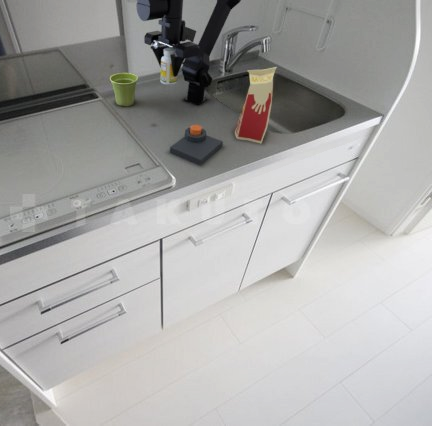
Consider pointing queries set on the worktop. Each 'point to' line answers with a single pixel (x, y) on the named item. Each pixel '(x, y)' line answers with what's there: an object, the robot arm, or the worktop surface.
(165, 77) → the supplement bottle
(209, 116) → the worktop surface
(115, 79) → the plant pot
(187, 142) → the scale
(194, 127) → the button
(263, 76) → the red snack bag
